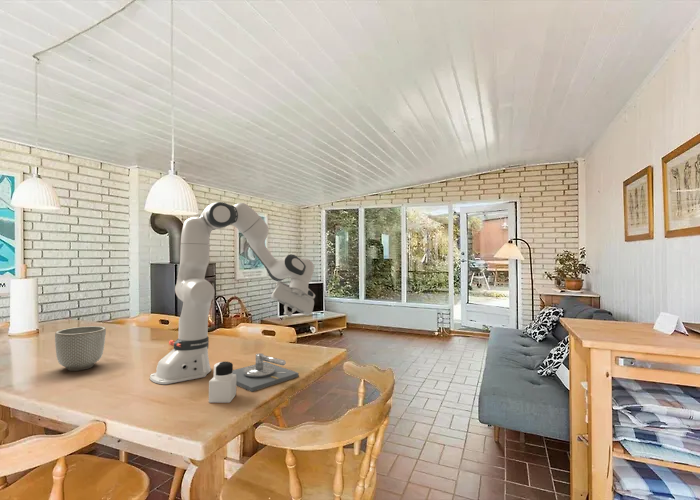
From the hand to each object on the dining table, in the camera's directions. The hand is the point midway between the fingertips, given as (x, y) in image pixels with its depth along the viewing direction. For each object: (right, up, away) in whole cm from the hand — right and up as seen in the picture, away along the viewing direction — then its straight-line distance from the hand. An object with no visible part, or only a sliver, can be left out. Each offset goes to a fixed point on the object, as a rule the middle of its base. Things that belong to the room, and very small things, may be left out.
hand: (287, 315), depth 161 cm
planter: (-86, -21, -9) cm, 89 cm away
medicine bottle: (-15, -21, -40) cm, 48 cm away
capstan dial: (-5, -20, -20) cm, 29 cm away
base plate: (-8, -21, -18) cm, 29 cm away
